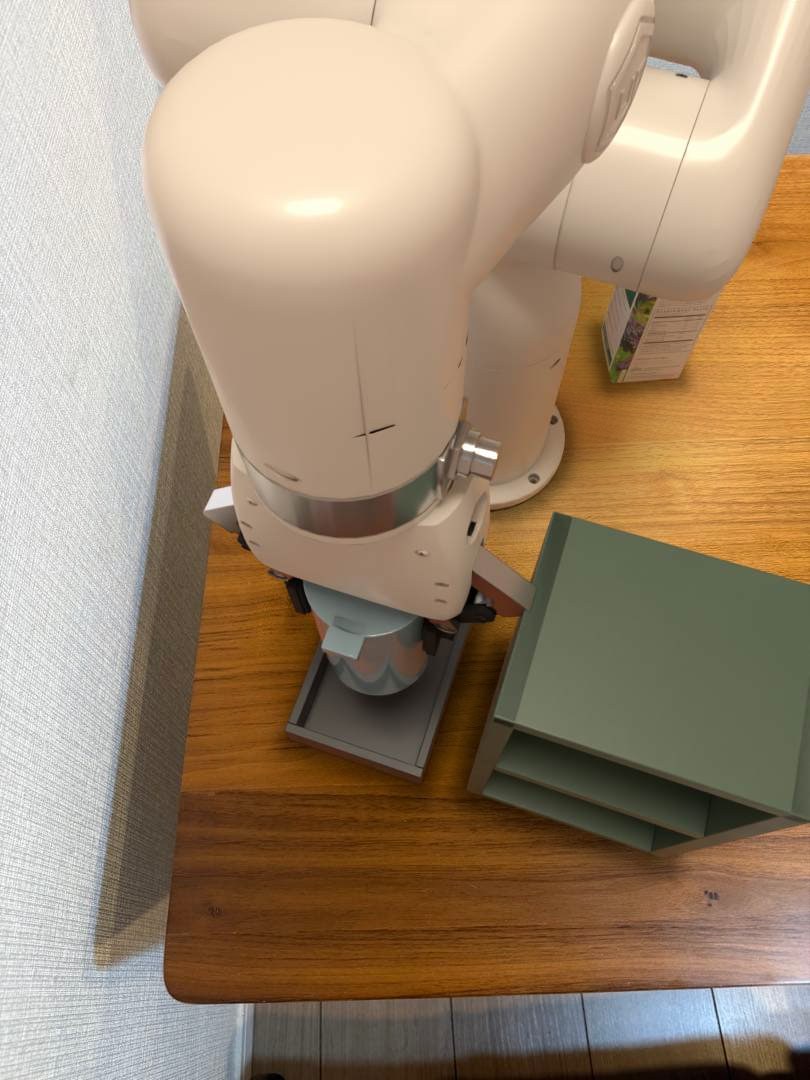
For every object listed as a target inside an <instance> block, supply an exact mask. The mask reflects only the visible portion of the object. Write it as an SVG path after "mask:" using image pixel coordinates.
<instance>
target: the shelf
mask: <svg viewBox="0 0 810 1080" xmlns="http://www.w3.org/2000/svg"><path fill="white" fill-rule="evenodd" d="M529 582H531V583H532V584H533V585H535V586H536V587H537V588H538V591H537V594H536V598H535V601H534V604H533V608H532V611H531V613H530V612H526V611H524V612H523V615H522V617H517V620H516V622H515V626H514V629H513V632H512V635H511V638H510V641H509V644H508V647H507V650H506V653H505V657H504V660H503V664H502V667H501V670H500V673H499V676H498V680H497V684H496V687H495V691H494V693H493V698H492V701H491V703H490V708H489V711H488V713H487V717H486V721H485V724H484V728H483V731H482V734H481V738H480V740H479V745H478V748H477V750H476V751H477V752H476V754H475V758H474V761H473V765H472V768H471V772H470V775H469V779H468V782H467V784H466V789H465V791H466V792H468V793H471V794H475V795H477V796H481V797H482V798H486V799H488V800H492V801H495V802H498V803H501V804H504V805H506V806H509V807H512V808H515V809H518V810H520V811H524V812H527V813H529V814H532V815H535V816H538V817H541V818H544V819H547V820H549V821H553V822H556V823H558V824H562V825H564V826H567V827H570V828H573V829H576V830H579V831H582V832H584V833H588V834H591V835H594V836H597V837H599V838H602V839H605V840H608V841H611V842H614V843H616V844H619V845H622V846H626V847H629V848H632V849H634V850H637V851H640V852H643V853H646V854H649V855H652V856H655V857H658V858H661V859H665V858H670V857H674V856H678V855H682V854H685V853H689V852H694V851H698V850H702V849H706V848H712V847H715V846H719V845H723V844H727V843H731V842H736V841H740V840H743V839H748V838H753V837H757V836H761V835H766V834H769V833H774V832H778V831H782V830H787V829H790V828H795V827H798V826H803V825H807V824H810V584H809V583H807V582H803V581H799V580H795V579H792V578H789V577H785V576H781V575H778V574H775V573H772V572H767V571H764V570H761V569H758V568H753V567H749V566H747V565H742V564H739V563H736V562H733V561H730V560H725V559H723V558H718V557H716V556H712V555H708V554H705V553H701V552H698V551H694V550H691V549H687V548H683V547H680V546H677V545H673V544H670V543H666V542H663V541H659V540H656V539H653V538H649V537H646V536H643V535H639V534H635V533H631V532H628V531H625V530H621V529H618V528H614V527H610V526H607V525H605V524H604V525H603V524H600V523H598V522H597V523H596V522H593V521H590V520H587V519H583V518H579V517H577V516H576V517H575V516H572V515H568V514H565V513H562V512H558V511H553V512H552V514H551V517H550V520H549V522H548V525H547V528H546V531H545V535H544V538H543V541H542V544H541V546H540V549H539V554H538V556H537V559H536V563H535V565H534V568H533V571H532V574H531V578H530V580H529Z"/></svg>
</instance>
